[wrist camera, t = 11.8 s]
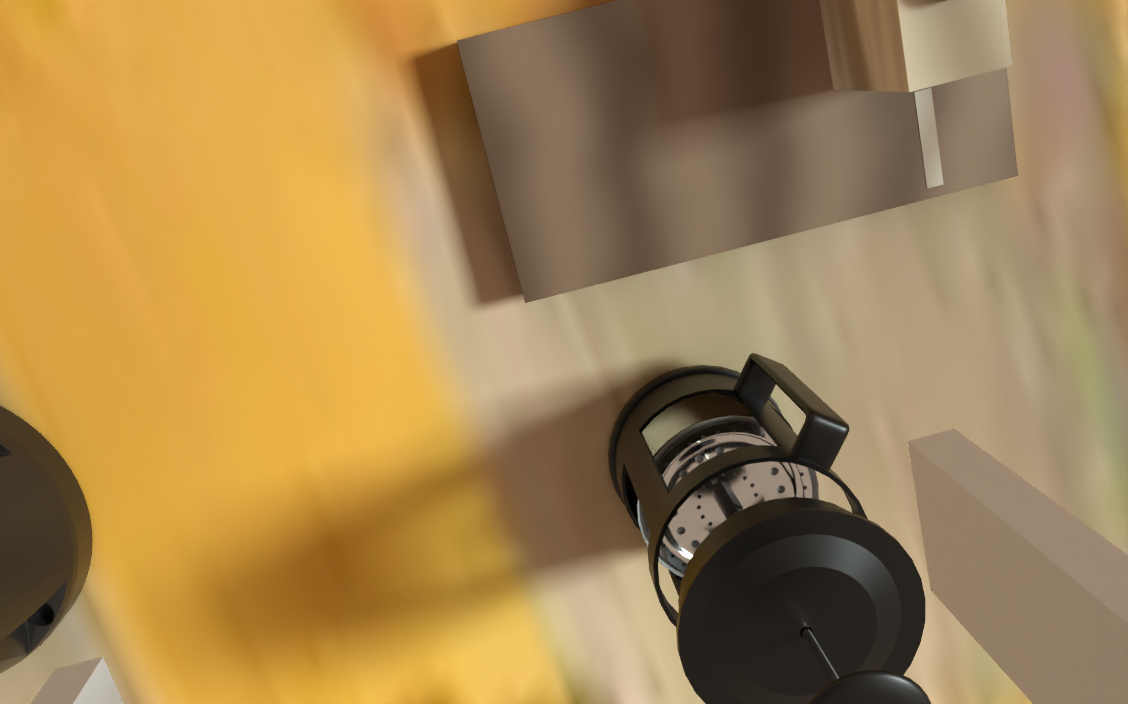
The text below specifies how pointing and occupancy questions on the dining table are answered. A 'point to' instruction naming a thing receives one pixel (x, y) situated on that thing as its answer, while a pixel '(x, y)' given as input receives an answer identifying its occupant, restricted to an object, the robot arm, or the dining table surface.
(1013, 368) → the dining table surface
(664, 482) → the french press
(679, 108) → the board
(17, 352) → the dining table surface
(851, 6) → the block
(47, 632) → the robot arm
